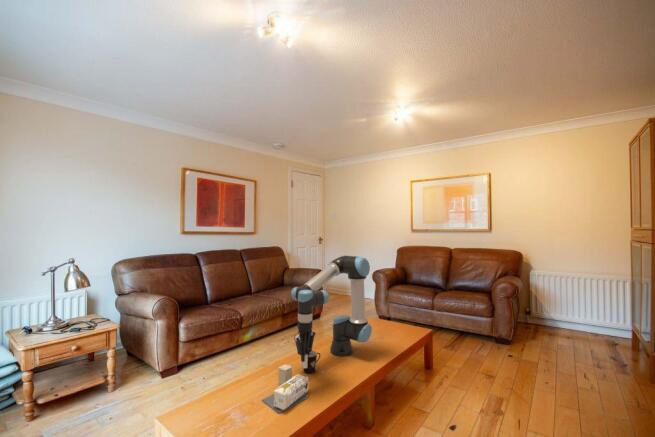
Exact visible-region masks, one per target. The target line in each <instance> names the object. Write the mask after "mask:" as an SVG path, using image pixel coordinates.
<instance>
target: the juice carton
mask: <svg viewBox="0 0 655 437" xmlns="http://www.w3.org/2000/svg"><path fill="white" fill-rule="evenodd" d="M307 392H309V376H306V375H303V374H299V373H298V374H296V375H294V376H292V378H291V379H290V380H288V381H287V382H285V383H284V384H283V385H281V386H280V385H279V386H278V387H277V388H276V389H274V390H273V394H274V406H275V407H278V408H280V409H282V410H285V409H286V408H287V407H289V406H290V405H291V404H292V403H294V402H295V401H296V400H297V399H299V398H300V397H301V396H302V395H304V394H305V395H306V394H307ZM285 411H286V410H285Z"/></svg>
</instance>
